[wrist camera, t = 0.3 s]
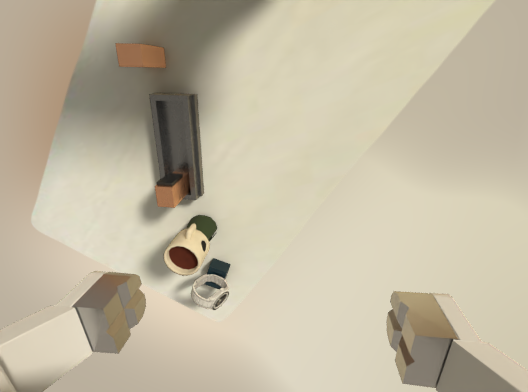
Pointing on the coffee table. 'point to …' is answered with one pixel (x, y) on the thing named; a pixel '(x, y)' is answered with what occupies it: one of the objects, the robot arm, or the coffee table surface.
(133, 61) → the orange block
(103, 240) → the coffee table surface
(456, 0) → the coffee table surface
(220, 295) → the watch
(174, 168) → the dark grey tray
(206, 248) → the character mug
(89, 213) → the coffee table surface
